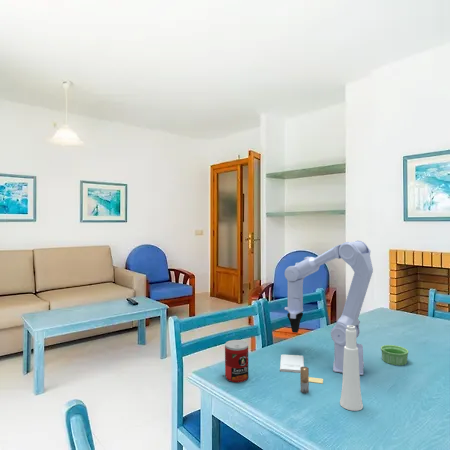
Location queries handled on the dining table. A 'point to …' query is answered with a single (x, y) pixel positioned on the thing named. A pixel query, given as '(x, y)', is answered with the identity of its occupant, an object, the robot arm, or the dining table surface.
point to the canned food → (236, 360)
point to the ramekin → (394, 354)
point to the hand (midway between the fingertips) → (295, 332)
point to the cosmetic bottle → (351, 373)
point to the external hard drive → (291, 363)
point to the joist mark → (315, 380)
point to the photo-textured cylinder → (304, 379)
